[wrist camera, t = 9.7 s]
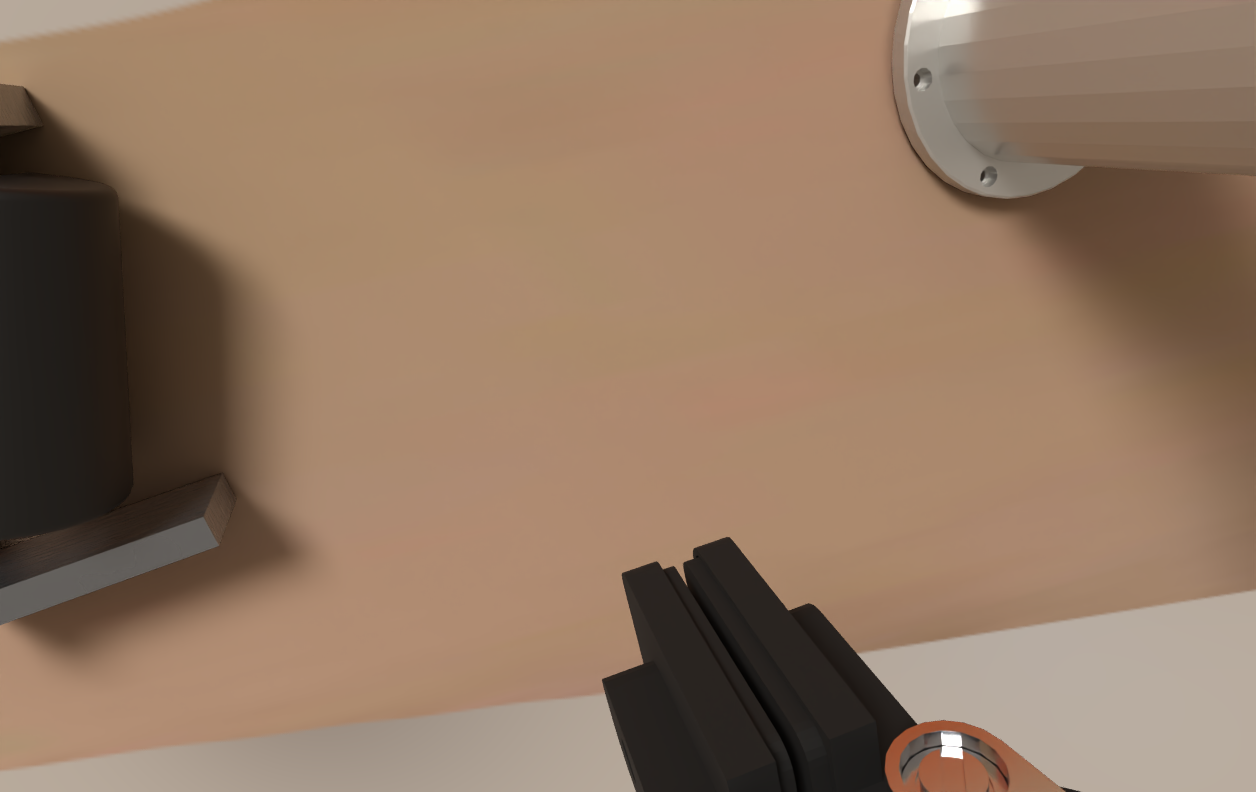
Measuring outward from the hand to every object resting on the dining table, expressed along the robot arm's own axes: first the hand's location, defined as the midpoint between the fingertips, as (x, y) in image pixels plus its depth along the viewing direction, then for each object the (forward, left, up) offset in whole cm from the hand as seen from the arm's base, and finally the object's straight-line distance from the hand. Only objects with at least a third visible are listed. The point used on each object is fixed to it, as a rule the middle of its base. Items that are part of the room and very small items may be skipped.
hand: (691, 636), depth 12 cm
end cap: (+15, -5, -22) cm, 27 cm away
